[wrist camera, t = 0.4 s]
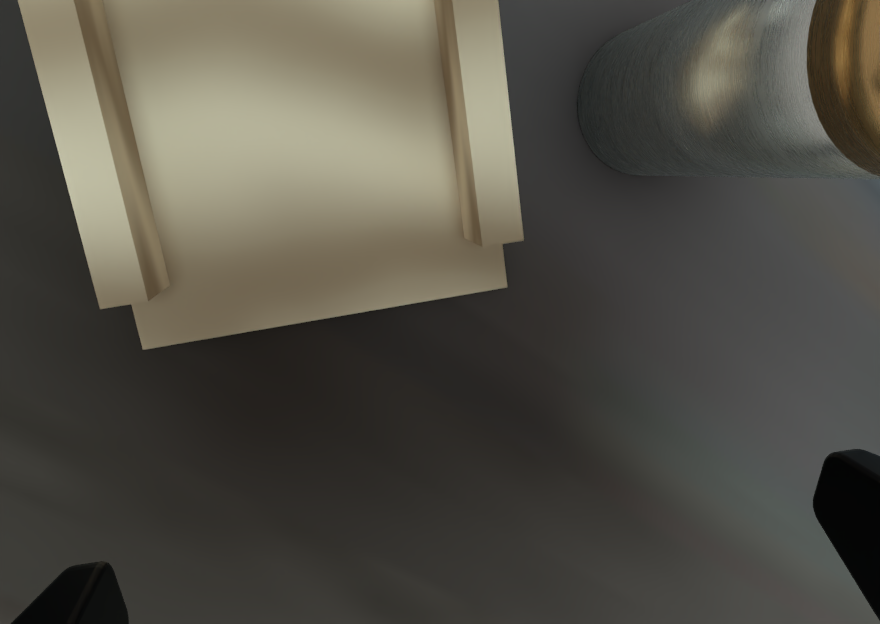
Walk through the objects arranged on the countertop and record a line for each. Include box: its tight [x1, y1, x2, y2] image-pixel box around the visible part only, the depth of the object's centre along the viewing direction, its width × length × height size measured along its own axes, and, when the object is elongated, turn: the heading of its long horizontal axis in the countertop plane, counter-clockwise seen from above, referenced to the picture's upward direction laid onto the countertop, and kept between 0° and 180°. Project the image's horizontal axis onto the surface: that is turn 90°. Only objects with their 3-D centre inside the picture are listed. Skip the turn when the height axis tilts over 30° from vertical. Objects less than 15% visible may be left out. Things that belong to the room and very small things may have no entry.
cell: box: [577, 0, 880, 179], centre depth 15 cm, size 5×5×14 cm
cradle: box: [18, 0, 524, 350], centre depth 18 cm, size 16×11×3 cm
